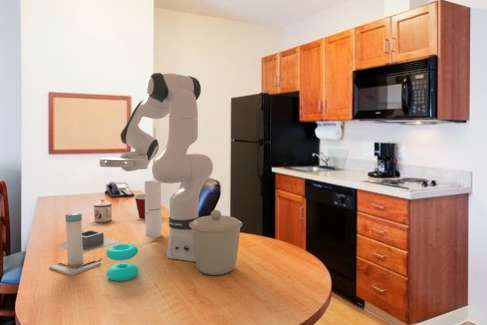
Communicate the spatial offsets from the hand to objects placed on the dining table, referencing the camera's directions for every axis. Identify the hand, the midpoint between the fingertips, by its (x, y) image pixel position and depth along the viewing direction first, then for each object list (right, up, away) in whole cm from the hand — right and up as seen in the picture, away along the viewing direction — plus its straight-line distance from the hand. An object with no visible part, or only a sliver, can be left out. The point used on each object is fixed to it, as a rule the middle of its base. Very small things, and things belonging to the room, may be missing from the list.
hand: (115, 164), depth 155 cm
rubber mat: (-5, -36, -24) cm, 44 cm away
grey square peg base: (-10, -34, -2) cm, 36 cm away
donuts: (+14, -37, -33) cm, 51 cm away
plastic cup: (-1, -30, +51) cm, 59 cm away
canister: (+45, -37, -27) cm, 64 cm away
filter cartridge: (-5, -35, -24) cm, 43 cm away
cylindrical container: (+13, -33, +15) cm, 38 cm away
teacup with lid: (-20, -31, +42) cm, 56 cm away
